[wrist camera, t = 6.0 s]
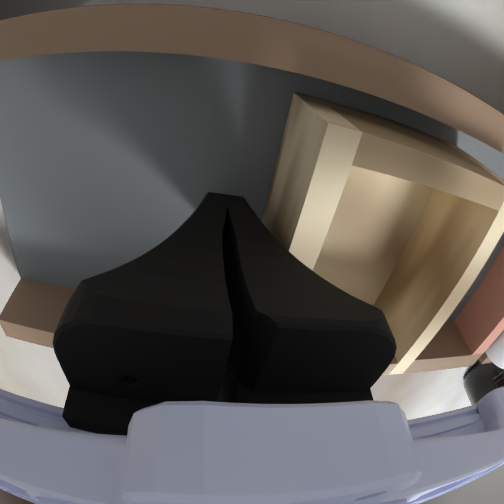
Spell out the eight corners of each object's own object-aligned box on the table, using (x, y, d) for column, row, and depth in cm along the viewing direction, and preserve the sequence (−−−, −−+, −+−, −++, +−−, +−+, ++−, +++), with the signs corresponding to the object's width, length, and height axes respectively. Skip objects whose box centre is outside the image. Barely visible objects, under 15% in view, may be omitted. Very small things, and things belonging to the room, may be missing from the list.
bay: (479, 326, 19) (507, 377, 15) (30, 288, 14) (-5, 360, 10) (569, 173, 12) (620, 216, 8) (2, 28, 7) (-90, 47, 3)
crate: (377, 309, 16) (403, 373, 13) (241, 299, 15) (246, 375, 11) (457, 146, 10) (522, 194, 7) (293, 92, 9) (327, 122, 6)
